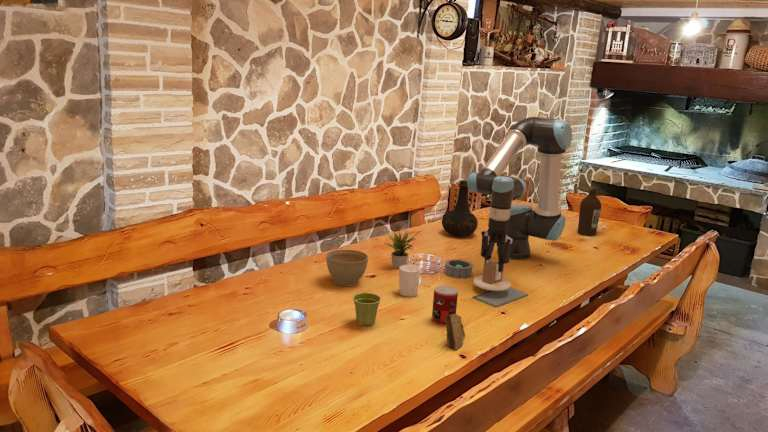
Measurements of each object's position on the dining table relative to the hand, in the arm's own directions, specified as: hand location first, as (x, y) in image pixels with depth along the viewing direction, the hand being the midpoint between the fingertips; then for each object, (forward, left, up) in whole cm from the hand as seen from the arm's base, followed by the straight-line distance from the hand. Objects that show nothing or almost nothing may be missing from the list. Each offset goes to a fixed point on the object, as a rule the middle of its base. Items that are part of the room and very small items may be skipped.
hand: (492, 277), depth 237 cm
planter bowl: (+39, -40, -6) cm, 56 cm away
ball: (-4, -20, -5) cm, 21 cm away
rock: (+43, +20, -7) cm, 48 cm away
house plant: (+11, -39, -6) cm, 41 cm away
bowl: (-4, -20, -6) cm, 21 cm away
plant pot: (+57, -8, -7) cm, 58 cm away
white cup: (+27, -18, -6) cm, 33 cm away
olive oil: (-112, -23, -6) cm, 115 cm away
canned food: (+34, +6, -6) cm, 35 cm away
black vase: (-50, -59, -7) cm, 78 cm away
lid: (0, 0, -3) cm, 3 cm away
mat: (0, 0, -6) cm, 6 cm away
